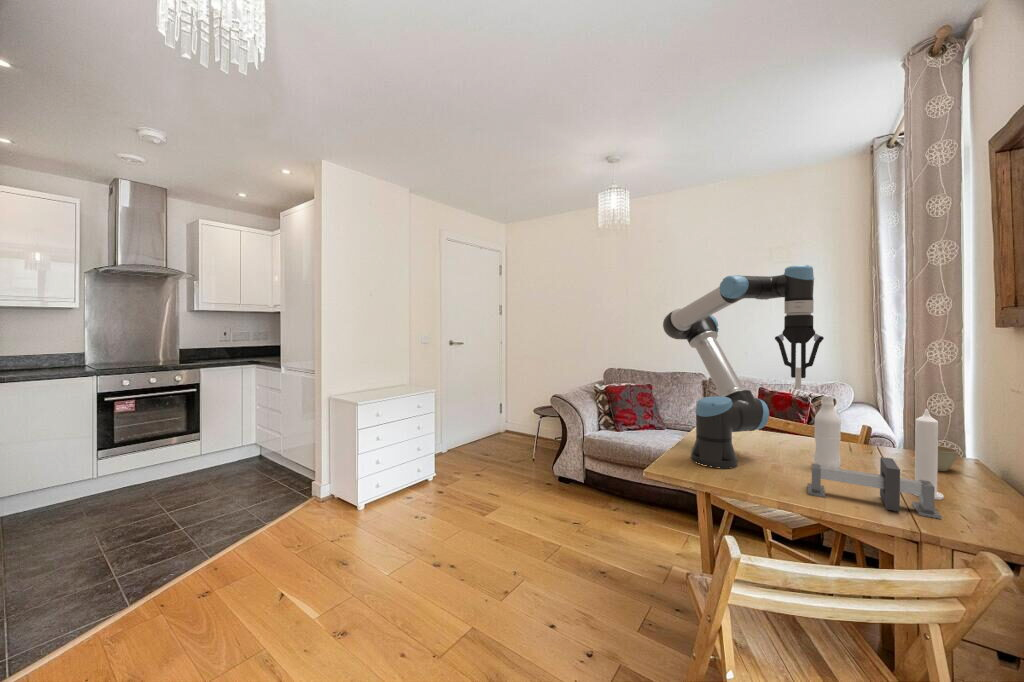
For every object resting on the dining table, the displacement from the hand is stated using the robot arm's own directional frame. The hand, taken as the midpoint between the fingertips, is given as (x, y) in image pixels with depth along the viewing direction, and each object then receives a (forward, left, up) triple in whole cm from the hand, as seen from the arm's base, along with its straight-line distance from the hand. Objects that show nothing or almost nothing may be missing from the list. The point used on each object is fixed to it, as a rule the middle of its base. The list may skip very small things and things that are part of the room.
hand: (798, 388), depth 127 cm
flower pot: (+38, +38, -30) cm, 61 cm away
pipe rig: (+16, -9, -29) cm, 35 cm away
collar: (+20, -9, -29) cm, 37 cm away
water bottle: (+8, +16, -30) cm, 35 cm away
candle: (+30, +6, -30) cm, 43 cm away
